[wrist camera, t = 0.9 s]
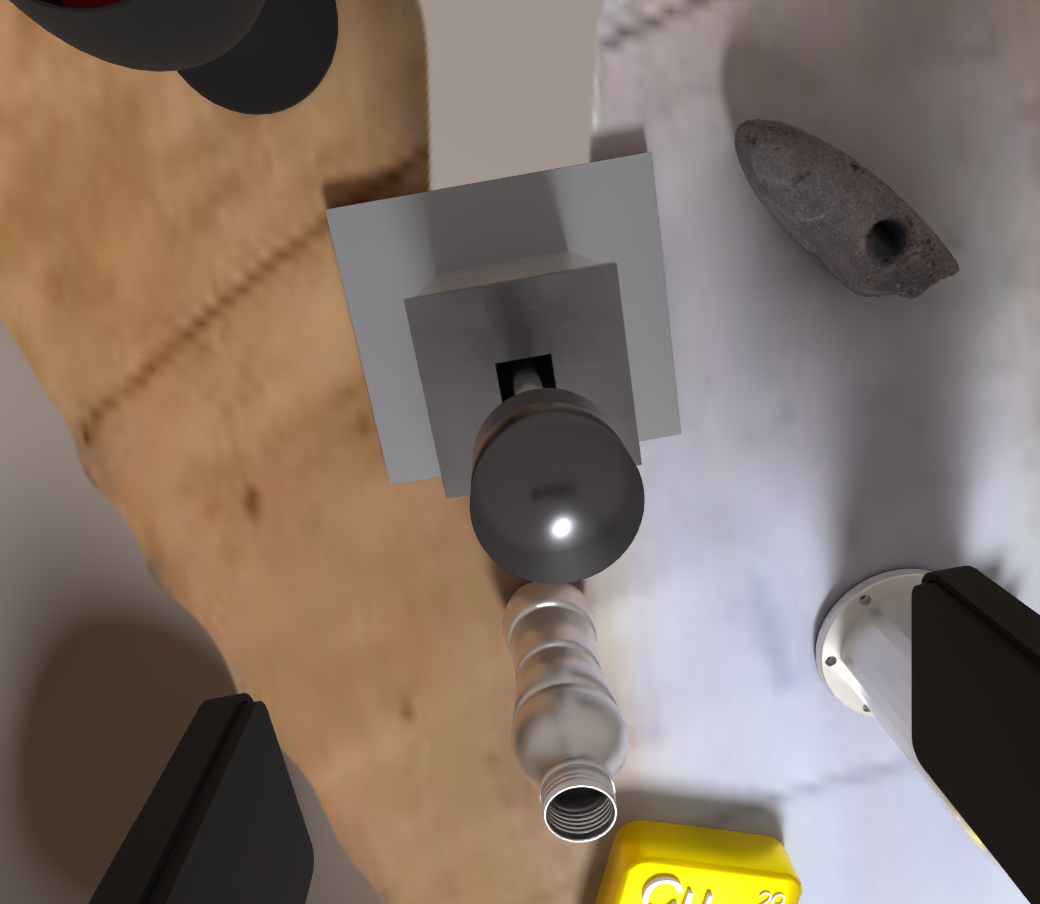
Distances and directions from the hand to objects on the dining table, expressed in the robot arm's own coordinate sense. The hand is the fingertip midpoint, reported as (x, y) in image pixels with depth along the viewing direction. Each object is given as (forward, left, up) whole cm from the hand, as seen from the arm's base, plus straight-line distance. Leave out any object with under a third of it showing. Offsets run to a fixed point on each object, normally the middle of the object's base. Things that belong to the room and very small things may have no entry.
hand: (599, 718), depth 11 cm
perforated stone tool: (-20, -4, -40) cm, 45 cm away
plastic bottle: (+1, +21, -40) cm, 45 cm away
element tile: (-6, +51, -41) cm, 66 cm away
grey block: (0, +2, -39) cm, 39 cm away
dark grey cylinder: (0, 0, -28) cm, 28 cm away
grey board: (0, 0, -40) cm, 40 cm away
